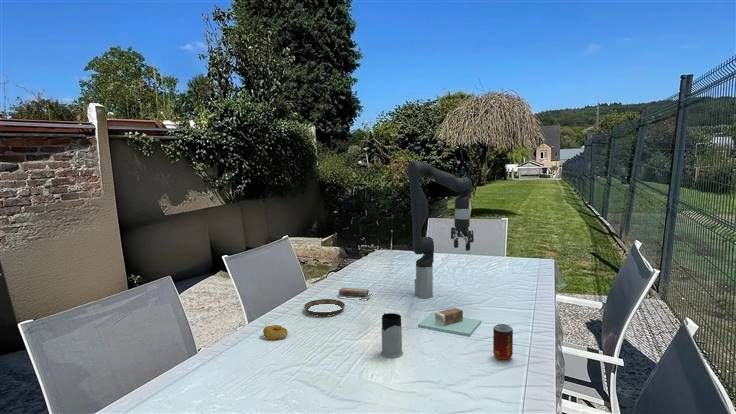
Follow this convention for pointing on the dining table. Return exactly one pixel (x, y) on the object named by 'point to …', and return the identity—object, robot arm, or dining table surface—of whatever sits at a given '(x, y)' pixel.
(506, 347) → the soda can
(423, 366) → the dining table surface
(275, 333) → the bagel
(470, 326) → the sage board
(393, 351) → the glass holder
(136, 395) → the dining table surface
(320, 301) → the plant saucer
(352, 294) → the packaged product
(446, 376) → the dining table surface
